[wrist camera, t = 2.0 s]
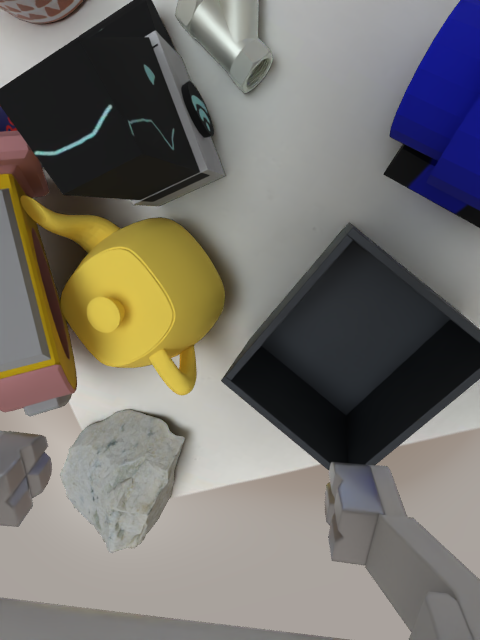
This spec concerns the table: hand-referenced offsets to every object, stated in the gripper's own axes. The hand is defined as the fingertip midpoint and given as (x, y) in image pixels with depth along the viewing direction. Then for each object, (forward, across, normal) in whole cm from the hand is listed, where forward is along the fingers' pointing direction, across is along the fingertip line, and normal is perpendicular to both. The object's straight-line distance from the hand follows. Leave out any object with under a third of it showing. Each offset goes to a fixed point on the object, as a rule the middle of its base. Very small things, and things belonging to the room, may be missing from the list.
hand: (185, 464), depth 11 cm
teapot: (+30, +9, +5) cm, 32 cm away
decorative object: (+22, +7, -5) cm, 24 cm away
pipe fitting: (+32, +2, -18) cm, 37 cm away
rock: (+29, +14, +28) cm, 43 cm away
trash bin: (+27, -10, +7) cm, 30 cm away
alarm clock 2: (+24, +23, -6) cm, 34 cm away
